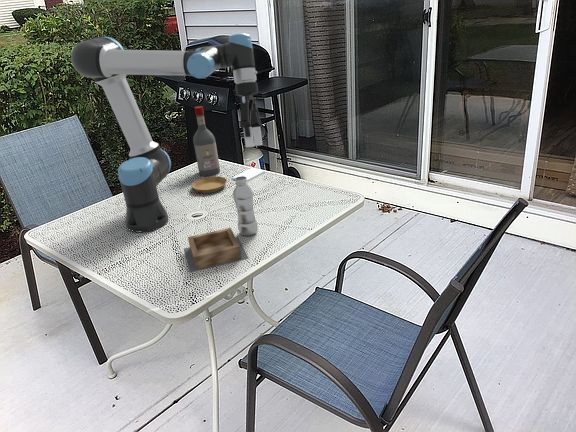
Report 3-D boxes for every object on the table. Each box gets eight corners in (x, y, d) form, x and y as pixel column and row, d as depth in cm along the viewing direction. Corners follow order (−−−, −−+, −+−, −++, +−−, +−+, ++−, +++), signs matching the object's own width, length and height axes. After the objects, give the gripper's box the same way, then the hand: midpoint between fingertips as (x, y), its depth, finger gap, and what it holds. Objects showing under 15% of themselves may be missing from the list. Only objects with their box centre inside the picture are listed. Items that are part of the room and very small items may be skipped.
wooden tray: (196, 269, 148) (193, 257, 146) (190, 248, 160) (187, 237, 158) (241, 258, 151) (239, 246, 149) (232, 239, 163) (230, 227, 161)
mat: (190, 273, 146) (189, 272, 146) (183, 249, 160) (183, 248, 160) (249, 259, 151) (248, 258, 151) (237, 237, 165) (237, 236, 165)
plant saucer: (225, 193, 201) (224, 188, 200) (189, 196, 202) (188, 190, 201) (229, 180, 214) (228, 175, 213) (196, 183, 215) (195, 177, 214)
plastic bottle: (251, 239, 162) (243, 183, 154) (234, 236, 166) (226, 180, 157) (262, 231, 167) (255, 176, 159) (246, 227, 171) (238, 173, 162)
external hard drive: (265, 173, 219) (246, 183, 210) (251, 171, 224) (232, 180, 215) (264, 170, 218) (246, 180, 210) (250, 167, 223) (232, 177, 214)
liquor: (221, 173, 222) (210, 107, 210) (201, 177, 220) (189, 110, 208) (217, 167, 230) (207, 103, 218) (198, 171, 228) (186, 106, 216)
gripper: (248, 77, 153) (257, 146, 156) (264, 84, 177) (271, 143, 181) (225, 81, 154) (234, 149, 158) (244, 87, 179) (252, 146, 182)
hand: (254, 146), depth 169 cm, fingers open, 13 cm apart
